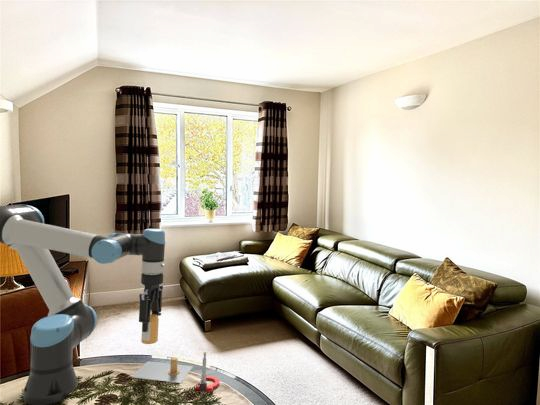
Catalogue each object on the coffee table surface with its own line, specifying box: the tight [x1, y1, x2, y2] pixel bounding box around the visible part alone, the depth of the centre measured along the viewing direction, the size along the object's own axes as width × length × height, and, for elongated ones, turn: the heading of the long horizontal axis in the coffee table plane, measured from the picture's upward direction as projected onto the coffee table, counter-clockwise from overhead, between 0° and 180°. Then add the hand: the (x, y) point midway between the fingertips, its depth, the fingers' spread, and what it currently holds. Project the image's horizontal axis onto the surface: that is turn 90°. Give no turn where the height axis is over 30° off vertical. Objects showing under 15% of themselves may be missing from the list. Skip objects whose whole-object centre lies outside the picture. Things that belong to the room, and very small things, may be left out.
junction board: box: [131, 356, 194, 384], centre depth 131 cm, size 18×12×6 cm, turn 82°
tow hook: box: [194, 351, 220, 393], centre depth 127 cm, size 8×13×9 cm
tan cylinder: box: [140, 313, 160, 345], centre depth 132 cm, size 5×5×9 cm
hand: (149, 336), depth 132 cm, fingers closed on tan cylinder, 5 cm apart
